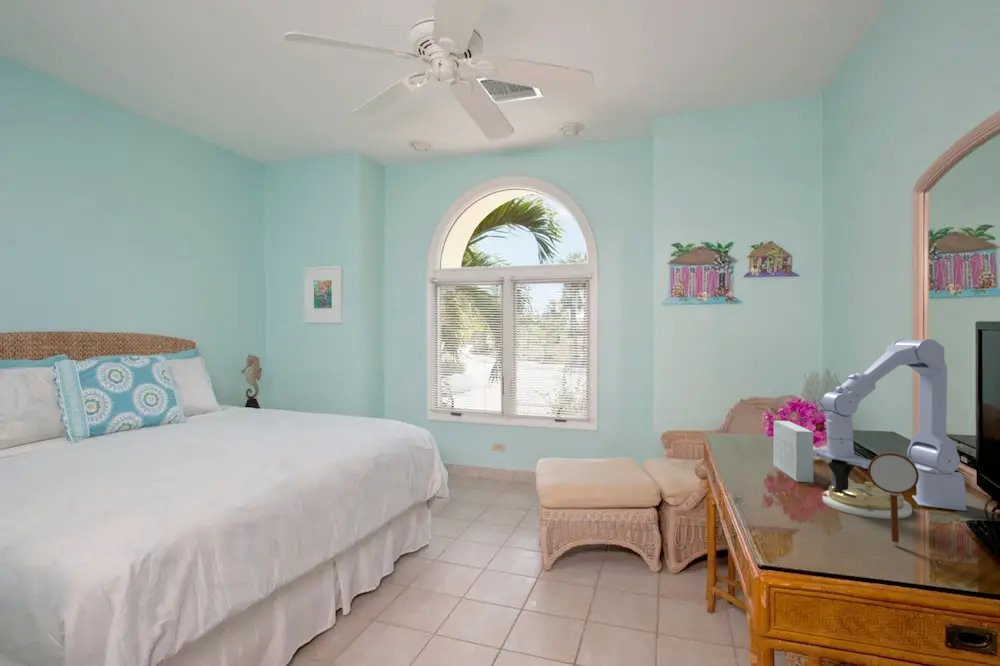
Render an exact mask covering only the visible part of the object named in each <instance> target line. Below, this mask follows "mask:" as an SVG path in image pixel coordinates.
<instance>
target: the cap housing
mask: <svg viewBox="0 0 1000 666" xmlns="http://www.w3.org/2000/svg"><path fill="white" fill-rule="evenodd" d="M821 494H822V502H823V503H824V504H825V505H826V506H828V507H829V506H830V508H831V507H832V508H831V509H833V510H837V511H839V512H842V513H847V514H848V515H849V514H850V515H853V516H860V517H865V518H872V519H873V518H874V519H881V520H882V519H884V520H887V519H888V520H891V510H873V509H865V508H859V507H854V506H850V505H846V504H843V503H840V502H837V501H835V500H833V499H832V498H830V497H829V489H828V490H825V491H823V492H821ZM912 509H913V506H912V504H911V503H910V502H908V501H906V500H904V507H903V508H901V509H898V520H899V519H905V518H909V517H911V516H912V514H913V510H912Z"/></svg>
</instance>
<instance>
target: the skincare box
mask: <svg viewBox="0 0 1000 666" xmlns="http://www.w3.org/2000/svg"><path fill="white" fill-rule="evenodd" d="M813 449H814V431H812V430H809V428H806V427H803V426H800V425H798V424H796V423H793V422H792V421H789V420H773V460H772V461H773V462H772V463H773V464H772V465H773V466H774V467H775V468H777V469H778V470H780V471H781V472H782V473H784V474H785V475H787V476H788V477H789V478H791V479H792V480H793V481H795V482H797V483H798V482H800V483H814V456H813Z"/></svg>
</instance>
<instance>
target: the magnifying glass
mask: <svg viewBox="0 0 1000 666" xmlns="http://www.w3.org/2000/svg"><path fill="white" fill-rule="evenodd" d="M870 460H871V462H870V463H869V466H868V468H867V473H868V477H869V479H870V481H871V482H872V483H873V485H874V486H877V487H878V488H880V489H881V490H883V491H886V492H889V493H891V495H890V505H891V519H890V526H891V530H890V531H891V541H892V543H893V546H895V547H897V546H898V545H899V544H898V543H899V542H900V537H899V534H900V533H899V519H898V505H897V495H896V494H899V493H901V494H904V493H908V492H910V491H912V490H913V489H914V488H916V484H917V482H918V479H919V474H918V470H917V468H916V466H915V465H914V464H913V462H911V461H910V460H909V458H908V457H906V456H904V455H902V454H900V453H893V452H885V453H881V454H879V455H876V456H875V457H874V458H872V459H870Z"/></svg>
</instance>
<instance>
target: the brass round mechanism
mask: <svg viewBox="0 0 1000 666" xmlns="http://www.w3.org/2000/svg"><path fill="white" fill-rule="evenodd" d="M830 477H831V478H830V480H831V481H830V482H831V483H830V484H831V485H829V486H828V490H829V497H830V498H832V499H833V500H835V501H837V502H840V503H843V504H846V505H850V506H854V507H859V508H865V509H873V510H891V505H890V495H891V493H889V492H886V491H883V490H881V489H880V488H878V487H877V486H876V485H874V483H873V482H872V481H871V482H870V481H864V483H855V482H854V483H853V482H851V483H850V482H848V490H839V489H837V487H836V477H835V475H834V473H833V471H832V470H831V471H830ZM896 495H897V505H898V509H901V508H903V507H904V501H905V498H904V495H903V494H902V493H899V494H896Z"/></svg>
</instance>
